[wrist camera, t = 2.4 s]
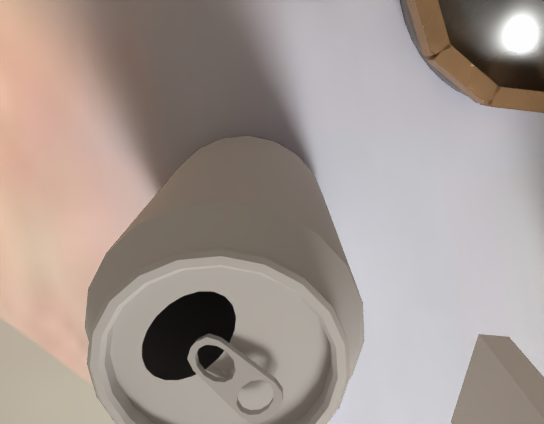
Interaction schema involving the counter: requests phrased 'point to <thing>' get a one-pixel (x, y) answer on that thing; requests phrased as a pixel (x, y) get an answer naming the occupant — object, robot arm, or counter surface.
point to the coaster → (483, 48)
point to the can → (226, 298)
